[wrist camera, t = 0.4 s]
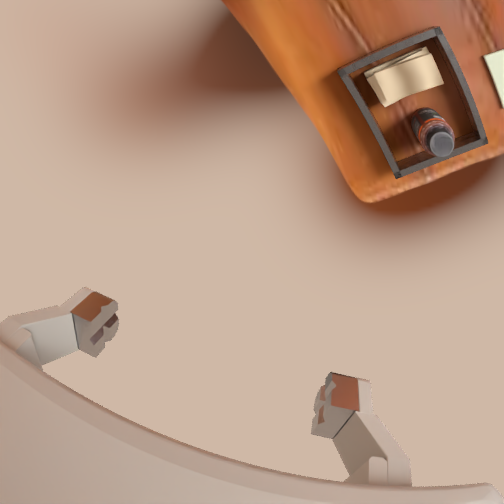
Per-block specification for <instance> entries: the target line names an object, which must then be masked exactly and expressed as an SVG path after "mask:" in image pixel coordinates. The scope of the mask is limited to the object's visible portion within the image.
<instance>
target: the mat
mask: <svg viewBox="0 0 504 504" xmlns="http://www.w3.org/2000/svg"><path fill="white" fill-rule="evenodd" d="M483 57H484V59H485V62H486V64H487V67H488V69H489V72H490V74H491V77H492V79H493V82H494V84H495V87H496V90H497V93H498V96H499V98H500V101H501V104H502V108H504V49H502V50H499V51H496V52H493V53H490V54H487V55H484V56H483Z"/></svg>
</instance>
